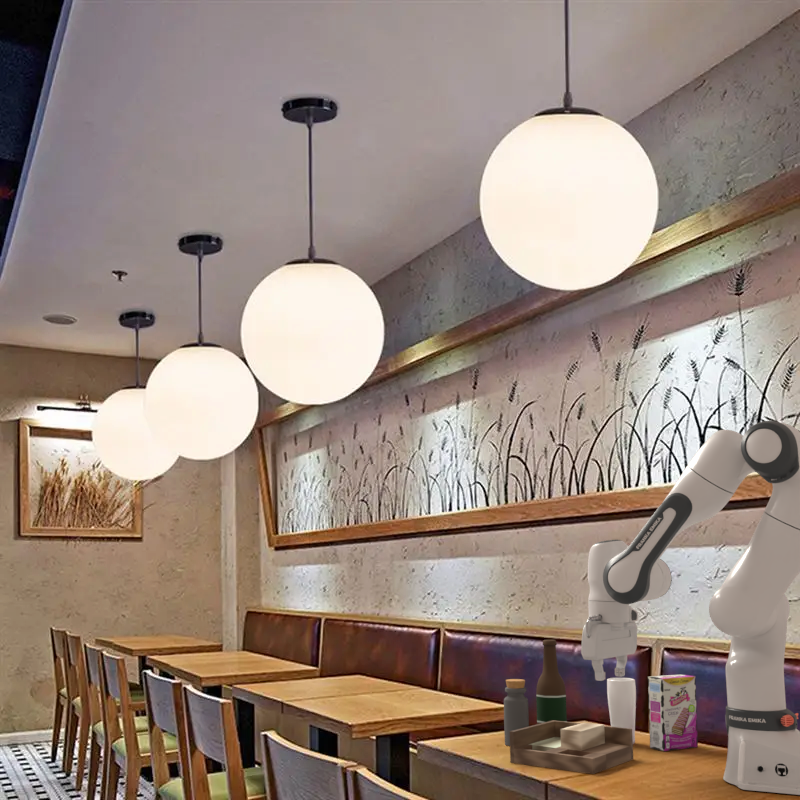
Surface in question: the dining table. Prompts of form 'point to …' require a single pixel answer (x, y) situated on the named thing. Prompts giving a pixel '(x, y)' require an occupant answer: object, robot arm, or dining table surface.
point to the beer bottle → (550, 688)
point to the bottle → (515, 707)
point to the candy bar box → (672, 712)
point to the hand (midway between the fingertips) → (610, 678)
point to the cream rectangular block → (582, 736)
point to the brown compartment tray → (545, 749)
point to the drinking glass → (622, 703)
